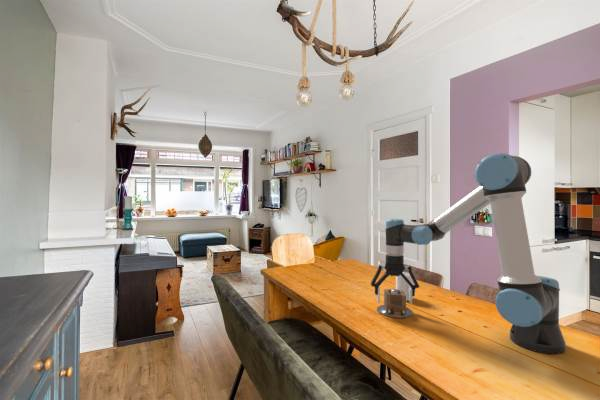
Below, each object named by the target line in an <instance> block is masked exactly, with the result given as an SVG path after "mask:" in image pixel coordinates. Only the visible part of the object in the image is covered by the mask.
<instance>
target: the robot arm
mask: <svg viewBox="0 0 600 400" xmlns="http://www.w3.org/2000/svg"><path fill="white" fill-rule="evenodd" d="M474 176H475V180H476V182H477V183H478V186H477V187H476V188H475V189H473V190H471V192H469V193H468V194H467V195H465V196H464V197H462V198H461V199H460V200H458V201H457V202H455V203H454V204H453V205H451V206H450V207H449V208H447V209H446V210H445V211H443V212H442V213H441V214H439V215H438V216H436V217H435V218H433V220H431V221H430V222H428V223H425V224H416V225H415V224H406V223H405V222H404V220H403V219H400V218H388V219H386V221H385V228H384V229H385V230H384V231H385V265H383V264H378V266H377V269H376V272H375V274H374V276H373V278H372V280H371V281H370V285H371V287H374V294H375V295H376V296H377V299H376V300H377V304H380V303H381V302H380V301H381V298H380V296H381V288H380V286H381V284H382V283H384V282H385V280H386V279H387V278H388V277H389V276H390V277H396V276H400V275H401V276H402V277H403V278H404V280H405V281H406V282H407V283H408V284H409V285H410V287H411V288H409V301H408V303H409V304H410V305H413V300H412V296H413V297H415V296H416V291H415V288H416V289H419V288H420V284H419V282H418V281H417V279H416V277H415V275H414V273H413V272H412V269H413V268H412V267H411V265H409V264H408V265H404V264H405V263H404V260H405V259H404V247H405V246H404V243H408V244H414V245H418V246H419V245H421V246H423V245H424V246H425V245H429V244H430V243H431V242H435V241H439V240H442V239H443V238H444V237H445V236H446V234H448V232H450V231H452V230H454V229H455V228H456V227H458V226H460V225H461V224H463V222H465V221H466V220H468V219H470V218H471V217H473V216H474V215H476V214H477V213H478V212H480V211H482V210H483V209H485V208H486V207H487V206H489V205H490V209H491V214H492V221H493V227H494V234H495V241H496V244H497V251H498V257H499V265H500V271H501V275H500V276H499V277H498V278H497V286H498V291H499V292H498V293H497V295H496V297H495V308H496V310H497V312H498V313H499V315H500V316H501V317H502V318H503V319H504V320H506V321H507V322H508V323H510V324H512V325H511V327H510V329H509V338H510V340H511V342H513V343H515V344H516V345H517V346H519V347H522V348H524V349H527V350H530V349H531V350H530V351H533V350H535V351H534V352H537V351H538V353H541V352H545V353H544V354H548V353H560V354H562V352H563V353H565V352H566V350H567V349H566V344H567V343H566V341H565V339H564V335H563V332H562V330H561V327H560V323H559V322H560V318H559V317H560V291H561V289H560V283H559V281H558V280H557V279H555V278H551V277H547V276H543V275H542V276H541V275H536V274H535V270H534V269H535V268H534V263H533V257H532V251H531V245H530V241H529V240H530V239H529V234H528V228H527V223H526V222H527V221H526V217H525V211H524V206H523V200H522V198H523V197H524V195H525V194H526V193H527V188H526V185H527V183H528V182H529V181H530V179H531V177H532V167H531V166H530V163H529V162H528V161H527V160H526V159H524V158H522V157H521V156H517V155H510V154H509V153H503V152H502V153H500V152H499V153H492V154H489V155H486V156H485V157H483V158H482V159H481V160H480V161H479V162H478V163H477V166H476V168H475V171H474ZM384 269H385V272H384V274H383V275H382V276H381V277H380V278H379V276H380V274H381V273H382V271H383V270H384ZM405 271H406V272H409V274H410V276H411V278H412V280H413V282H414V284H415V285H414V284H412V283H411V282H410V281H409V280H408V279H407V277H406V276H405V275H404V274H403V273H402V272H405ZM565 349H566V350H565ZM564 351H565V352H564Z"/></svg>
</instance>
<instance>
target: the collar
mask: <svg viewBox="0 0 600 400" xmlns="http://www.w3.org/2000/svg"><path fill="white" fill-rule="evenodd" d="M391 289H392V288H391ZM391 289H390V288H383V305H384V308H385V310H386V313H388V310H389V309H390V310H391V314H394V317H398V318H397V319H402V318H401V314H402V310H405V314H406V307H407V301H406V295H405V293H404V291H403V290H398V294H391Z"/></svg>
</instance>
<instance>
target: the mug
mask: <svg viewBox="0 0 600 400" xmlns="http://www.w3.org/2000/svg"><path fill="white" fill-rule="evenodd" d="M402 273H403V274H404V275H405V276H406V277H407V279H408V280H409V281H410V282H411V283H412V284H413V285H415V284H414V282H413V280H412V278H411V276H410V274H409V272H408V271H403V272H402ZM409 288H411V287H410V285H409V284H408V283H407V282H406V281H405V280H404V278H403V277H402V276H401V275H400V276H395V289H397V290H403V291H404V293H405V295H406V302H407V301H408V302H409ZM416 291H417V288H415V292H416ZM414 299H415V298H414V296H412V301H413V300H414Z"/></svg>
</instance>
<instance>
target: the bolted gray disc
mask: <svg viewBox="0 0 600 400" xmlns="http://www.w3.org/2000/svg"><path fill="white" fill-rule="evenodd" d="M391 294H398V290H397V289H396V288H391ZM376 311H377V312H378V314H380V315H382V316H385V317H389V318H395V319H399V318H398V317H394V314H391V310H390V309H389V310H388V313H386V310H385V308H384V304H382V305H378V306H377V308H376ZM413 313H414V312H413V310H412V309H411V308H409V307H407V306H406V314H405V310H402V314H401V318H400V319H406V318H410V317H411V316H413Z"/></svg>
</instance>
